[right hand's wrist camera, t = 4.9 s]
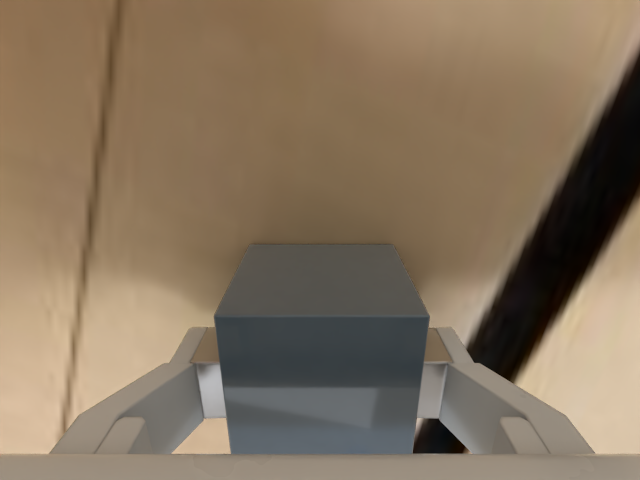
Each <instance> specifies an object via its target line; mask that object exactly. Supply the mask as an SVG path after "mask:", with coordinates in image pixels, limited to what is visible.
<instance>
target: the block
mask: <svg viewBox="0 0 640 480" xmlns="http://www.w3.org/2000/svg"><path fill="white" fill-rule="evenodd" d="M429 319H430V316H429V313H428V311H427V310H426V308H425V306H424V304H423V302H422V300H421V298H420V296H419V294H418V292H417V290H416V288H415V286H414V284H413V282H412V280H411V278H410V276H409V274H408V272H407V270H406V268H405V266H404V264H403V262H402V260H401V258H400V256H399V254H398V252H397V250H396V249H395V247H394V245H393V244H250V245H249V246H248V248H247V250H246V252H245V254H244V256H243V258H242V260H241V262H240V264H239V266H238V268H237V270H236V272H235V274H234V276H233V278H232V280H231V282H230V284H229V286H228V288H227V290H226V292H225V294H224V296H223V298H222V300H221V302H220V304H219V306H218V308H217V310H216V312H215V314H214V322H215V330H216V338H217V346H218V354H219V362H220V371H221V379H222V387H223V395H224V403H225V411H226V419H227V427H228V435H229V443H230V451H231V454H412V452H413V444H414V436H415V428H416V420H417V413H418V405H419V397H420V389H421V381H422V374H423V366H424V358H425V350H426V342H427V335H428V327H429Z"/></svg>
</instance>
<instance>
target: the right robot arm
mask: <svg viewBox="0 0 640 480" xmlns="http://www.w3.org/2000/svg"><path fill="white" fill-rule="evenodd" d="M203 418H226V411H225V403H224V395H223V387H222V379H221V371H220V362H219V354H218V346H217V338H216V330H215V327H209V328H208V327H192V328H190V329H189V330H188V332H187V333H186V335H185V337H184V339H183V340H182V342H181V344H180V345H179V347H178V349H177V351H176V352H175V354H174V356H173V357H172V359H171V361H170V363H164V364H162V365H160V366H159V367H157V368H155V369H154V370H152V371H150V372H149V373H147V374H146V375H144V376H142V377H141V378H139V379H137V380H136V381H134V382H132V383H131V384H129V385H127V386H126V387H124V388H123V389H121V390H119V391H118V392H116V393H114V394H113V395H111V396H109V397H108V398H106V399H105V400H103V401H101V402H100V403H98V404H96V405H95V406H93V407H91V408H90V409H88V410H86V411H85V412H83V413H82V414H80V415H79V416H78V417H77V418H76V419H75V421H74V422H73V423H72V425H71V426H70V427H69V429H68V430H67V431H66V432H65V434H64V435H63V436H62V438H61V439H60V440H59V441H58V443H57V444H56V445H55V447H54V448H53V449H52V451H51V452H50V453H49V454H0V480H640V454H595V452H594V451H593V450H592V448H591V447H590V446H589V445H588V443H587V442H586V441H585V439H584V438H583V437H582V436H581V434H580V433H579V432H578V431H577V429H576V428H575V427H574V425H573V424H572V423H571V422H570V420H569V419H568V418H567V416H566V415H564V414H562V413H561V412H559V411H557V410H556V409H554V408H552V407H551V406H549V405H547V404H546V403H544V402H543V401H541V400H539V399H538V398H536V397H534V396H533V395H531V394H529V393H528V392H526V391H524V390H523V389H521V388H519V387H518V386H516V385H514V384H513V383H511V382H510V381H508V380H506V379H505V378H503V377H501V376H500V375H498V374H496V373H495V372H493V371H491V370H490V369H488V368H486V367H485V366H483V365H481V364H480V363H474V362H473V360H472V359H471V357H470V355H469V354H468V352H467V350H466V349H465V347H464V345H463V344H462V342H461V341H460V339H459V337H458V336H457V334H456V332H455V331H454V329H453V328H451V327H434V328H428V335H427V342H426V350H425V358H424V366H423V374H422V381H421V389H420V397H419V405H418V413H417V418H440V419H439V420H440V421H441V422H442V423H443V424H444V425H445V426H446V427H447V428H448V429H449V430H450V431H451V432H452V433H453V434H454V435H455V436H456V437H457V438H458V439H459V440H460V441H461V442H462V443H463V444H464V445H465V446H466V447H467V448H468V449H469V450H470V451H471V452H472V453H473V454H171V453H172V452H173V451H174V450H175V449H176V448H177V447H178V446H179V445H180V444H181V443H182V442H183V441H184V440H185V439H186V438H187V437H188V436H189V435H190V434H191V433H192V432H193V431H194V430H195V428H196V427H197V426H198V425H199V424H200V423H201V422H202V421H203Z"/></svg>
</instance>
